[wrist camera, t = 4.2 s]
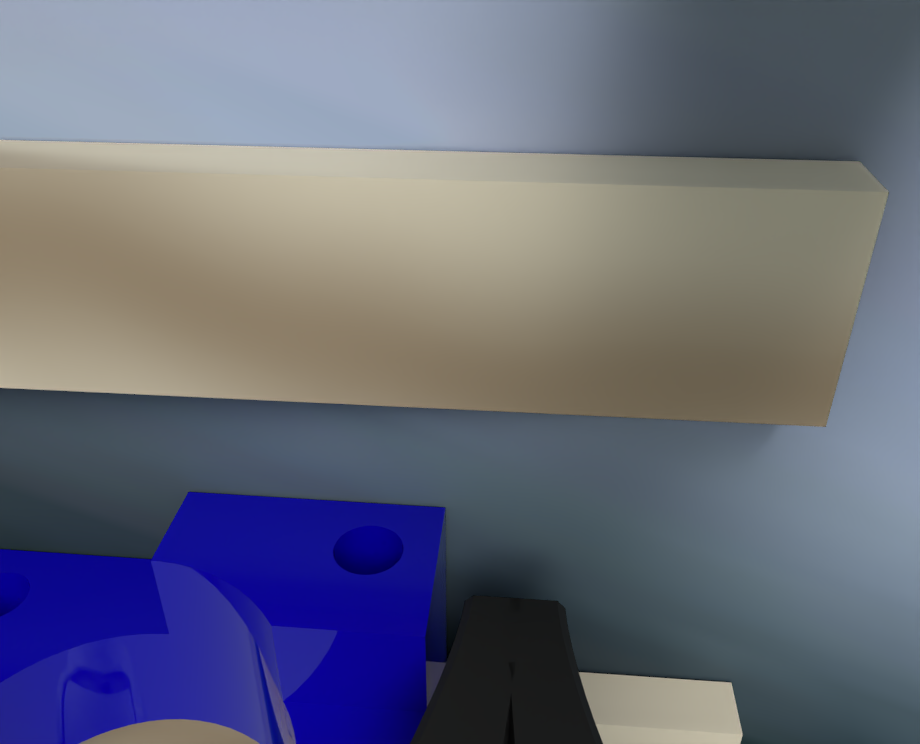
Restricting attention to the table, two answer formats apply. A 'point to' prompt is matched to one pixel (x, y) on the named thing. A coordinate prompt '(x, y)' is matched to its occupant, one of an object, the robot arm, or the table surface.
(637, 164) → the birch track
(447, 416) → the table surface
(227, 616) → the cable holder
